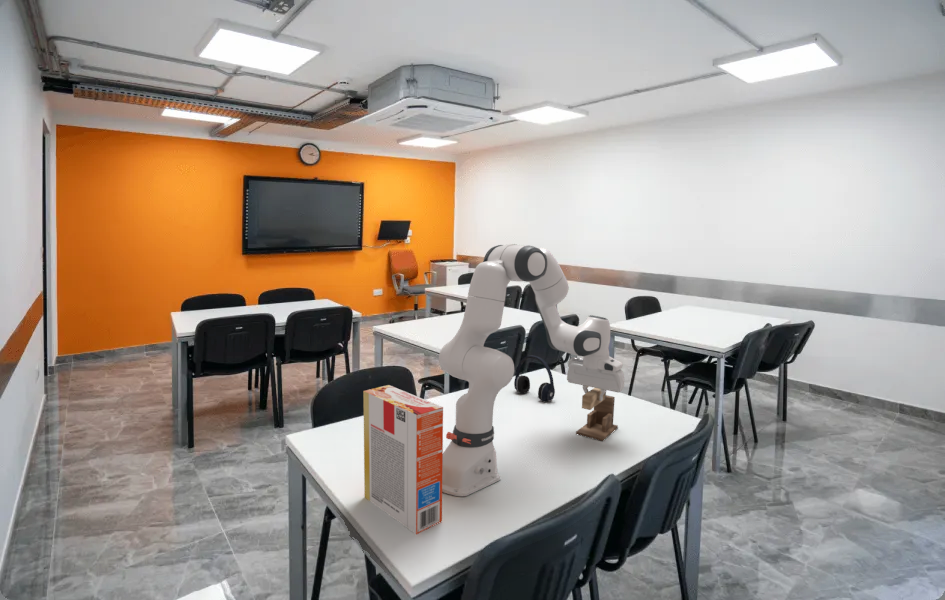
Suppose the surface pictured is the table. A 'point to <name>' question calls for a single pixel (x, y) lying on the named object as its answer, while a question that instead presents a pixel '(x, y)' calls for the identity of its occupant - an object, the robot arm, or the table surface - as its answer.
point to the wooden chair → (600, 420)
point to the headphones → (523, 382)
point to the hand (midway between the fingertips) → (593, 399)
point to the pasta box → (403, 456)
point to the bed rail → (591, 398)
